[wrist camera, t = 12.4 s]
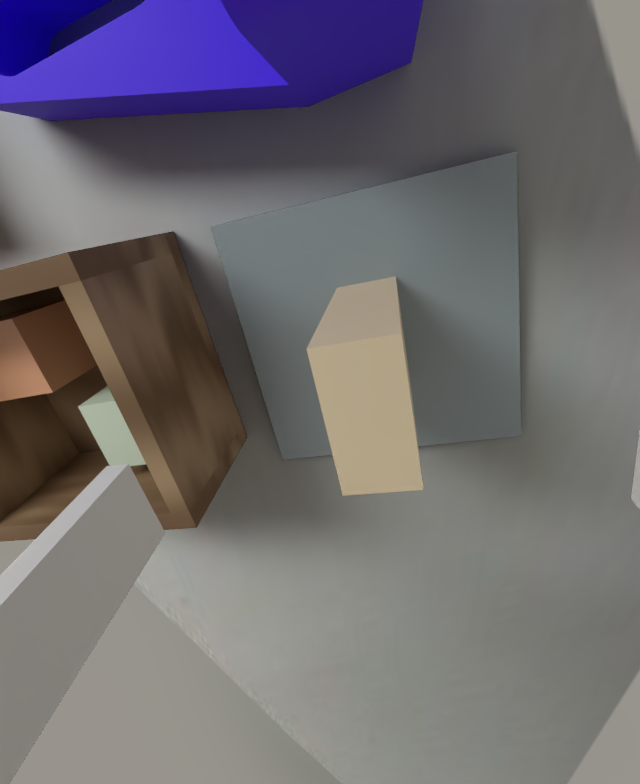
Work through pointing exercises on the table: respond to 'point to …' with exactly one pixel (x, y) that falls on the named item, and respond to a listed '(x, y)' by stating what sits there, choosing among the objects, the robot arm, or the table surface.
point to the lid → (385, 319)
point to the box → (120, 387)
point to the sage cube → (110, 429)
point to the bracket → (197, 55)
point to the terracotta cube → (41, 351)
